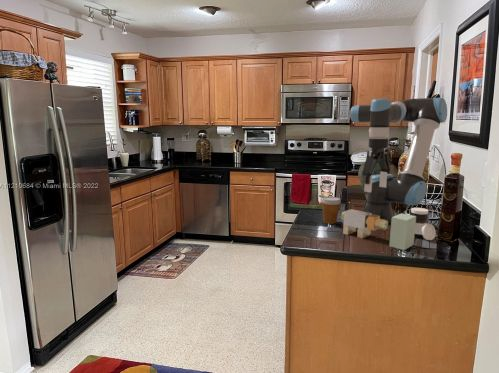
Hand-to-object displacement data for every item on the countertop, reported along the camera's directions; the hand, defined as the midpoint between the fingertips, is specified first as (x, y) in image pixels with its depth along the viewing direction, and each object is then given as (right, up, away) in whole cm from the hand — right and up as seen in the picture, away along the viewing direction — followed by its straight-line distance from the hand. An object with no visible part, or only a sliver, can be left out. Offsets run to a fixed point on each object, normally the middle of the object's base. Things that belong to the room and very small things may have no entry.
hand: (375, 189), depth 151 cm
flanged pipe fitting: (+22, -21, +7) cm, 32 cm away
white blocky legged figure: (-5, -20, +10) cm, 23 cm away
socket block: (+9, -23, -4) cm, 25 cm away
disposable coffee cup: (-13, -17, +28) cm, 35 cm away
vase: (+24, -9, +70) cm, 75 cm away
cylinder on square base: (-3, -16, +7) cm, 18 cm away
